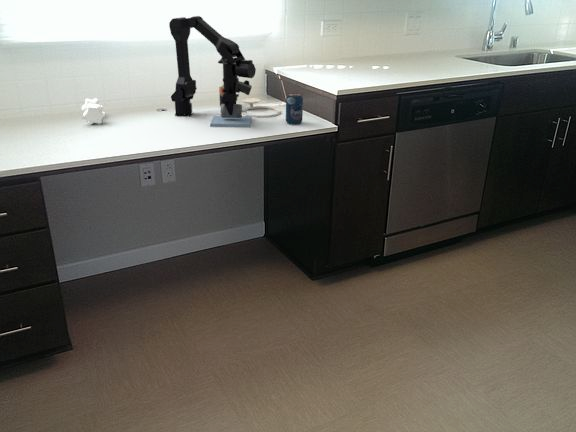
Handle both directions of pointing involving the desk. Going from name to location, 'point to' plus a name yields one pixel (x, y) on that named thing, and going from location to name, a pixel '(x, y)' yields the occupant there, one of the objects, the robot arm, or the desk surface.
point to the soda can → (294, 108)
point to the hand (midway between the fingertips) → (231, 113)
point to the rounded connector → (236, 110)
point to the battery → (221, 94)
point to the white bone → (93, 111)
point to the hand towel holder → (254, 100)
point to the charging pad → (231, 121)
